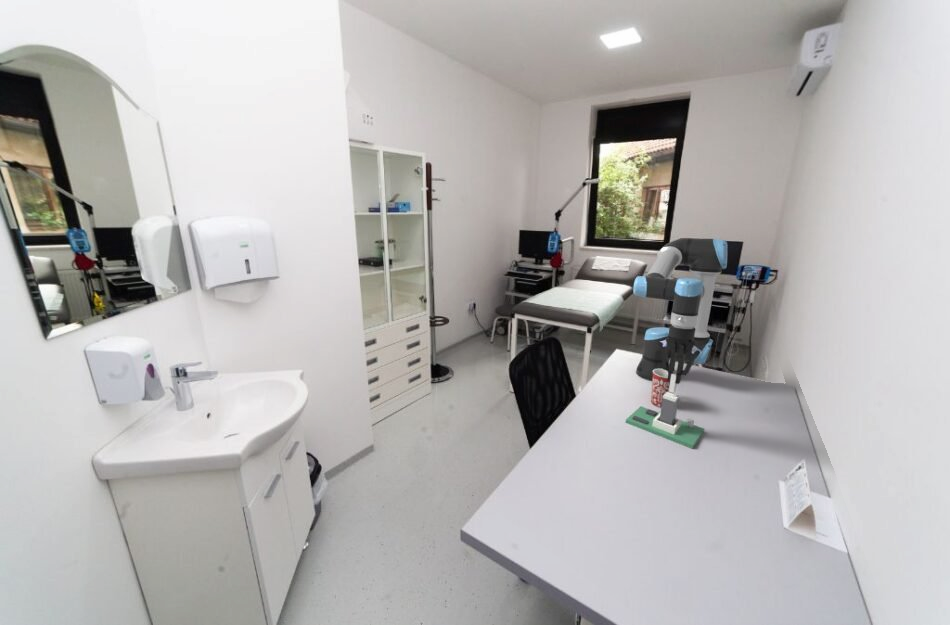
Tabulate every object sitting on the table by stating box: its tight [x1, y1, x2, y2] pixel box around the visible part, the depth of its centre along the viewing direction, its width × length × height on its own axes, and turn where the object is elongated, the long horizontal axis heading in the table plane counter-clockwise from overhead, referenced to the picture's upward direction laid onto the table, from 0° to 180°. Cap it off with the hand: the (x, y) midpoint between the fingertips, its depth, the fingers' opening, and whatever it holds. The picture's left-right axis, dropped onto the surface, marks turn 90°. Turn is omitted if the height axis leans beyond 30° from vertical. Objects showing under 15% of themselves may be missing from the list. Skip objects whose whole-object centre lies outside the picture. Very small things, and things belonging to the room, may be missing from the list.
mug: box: [650, 369, 672, 408], centre depth 147 cm, size 13×9×14 cm
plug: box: [659, 392, 680, 426], centre depth 128 cm, size 4×4×12 cm
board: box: [625, 405, 705, 449], centre depth 131 cm, size 14×22×4 cm, turn 46°
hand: (672, 390), depth 126 cm, fingers closed
